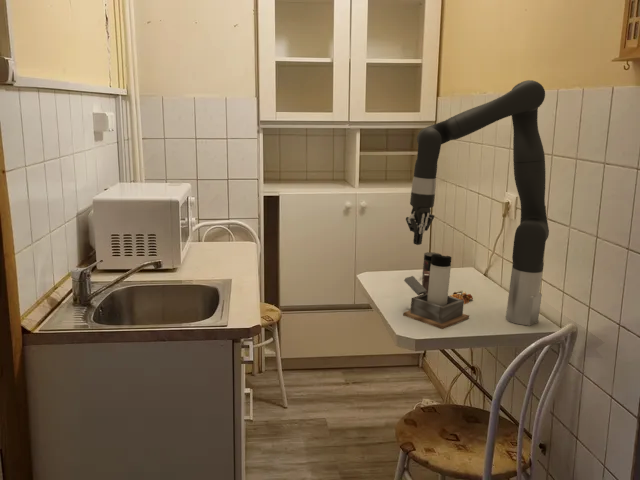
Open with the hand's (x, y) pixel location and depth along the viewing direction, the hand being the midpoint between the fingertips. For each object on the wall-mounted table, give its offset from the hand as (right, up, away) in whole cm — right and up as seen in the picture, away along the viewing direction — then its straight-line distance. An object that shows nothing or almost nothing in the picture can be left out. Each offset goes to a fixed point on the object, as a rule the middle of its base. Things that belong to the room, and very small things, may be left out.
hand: (417, 244), depth 193 cm
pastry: (+17, -21, +16) cm, 31 cm away
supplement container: (+11, -14, +39) cm, 43 cm away
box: (+9, -18, +24) cm, 31 cm away
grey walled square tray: (+6, -23, -1) cm, 24 cm away
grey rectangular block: (0, -14, +3) cm, 14 cm away
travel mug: (+6, -23, -2) cm, 23 cm away
